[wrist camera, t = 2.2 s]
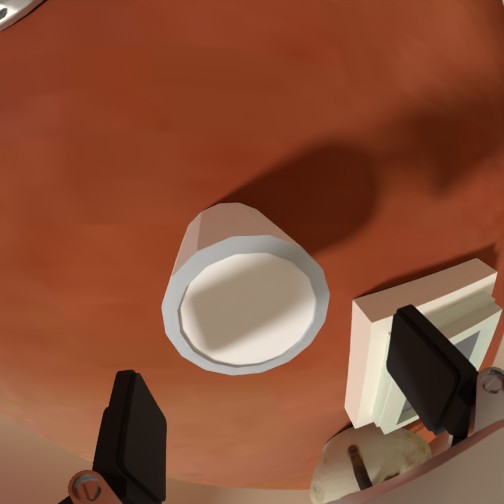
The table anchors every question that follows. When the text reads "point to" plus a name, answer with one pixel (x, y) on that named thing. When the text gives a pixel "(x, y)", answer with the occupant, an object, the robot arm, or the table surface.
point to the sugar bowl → (364, 460)
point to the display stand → (438, 313)
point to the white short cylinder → (242, 293)
